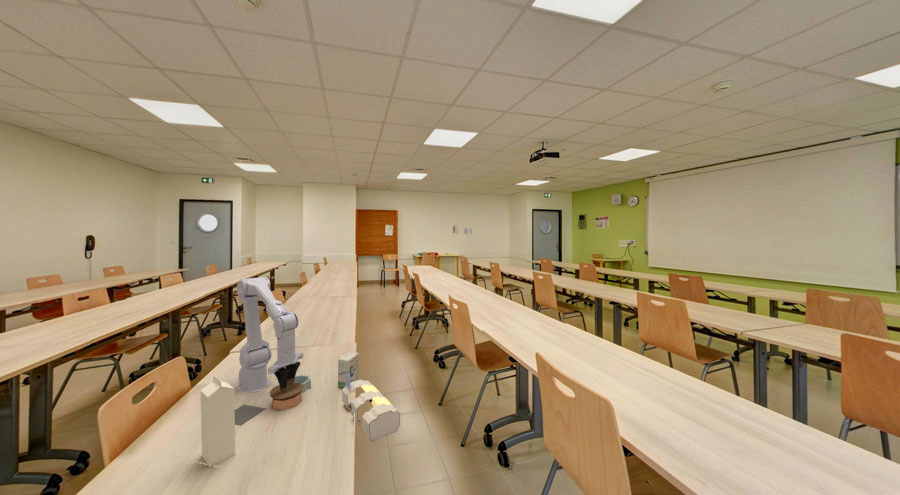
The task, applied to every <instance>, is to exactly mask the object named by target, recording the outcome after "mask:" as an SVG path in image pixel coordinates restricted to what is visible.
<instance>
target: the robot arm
mask: <svg viewBox="0 0 900 495" xmlns="http://www.w3.org/2000/svg"><path fill="white" fill-rule="evenodd" d="M236 289H237V291H236V292H237V297H238V300H239V301H241V302H242V306H243V314H244V323H245V324H244V325H245V331H246V332H245V333H246V334H245V335H246V340H247V341H246V343H245V344H244V345H243V346H242V347H241V348H240V349H239V360H238V361H239V364H240V366H241V367H240V369H239V372H238V387H236V390H237V391H243V392H250V393H258V392H259V391H261V390H264V389H265V388H266V387H269V386H270V385H272V384H273V382H272V381H268V377H267V375H269V374H270V375H274V376H275V377H276V380H277V381H278V385H280V388H286V386H287V378H293V383H294V379H295V376H297V372H298V369H299V368H300V366H301V361H298V360H301V359H303V358H304V352H296V329H297V328H298V326H299V317H298V316H297V313H295V312H292V311H289V310H288V308H287V307H286V306H285V305H284V303H283V302H282V301H281V300H277V299H276V297H275V296H274V293H273V292H272V290H271V281H270V279H269V278H268V276H262V277H252V278H251V277H250V278H240V279H239V280H238V281H237V285H236ZM259 300H260V301H262V302H263V303H264V305H265V306H266V307H265V311H266V313H267V315H269V317H270V319H271V320H272V321H273V323H272V326H273V329H274V332H275V333H274V334H275V337H276V343H277V344H276V351H277V354H276V355H277V358H276V361H275V362H274V363H273V364H272V365H271V366H269V367H267V365H268V364H269V361H271V358H272V356H273V355H272V354H273V353H272V349H271V346H270V342H268V341H267V340H264V339H263V336H262V328H261V327H262V326H261V320H260V310H259V302H258V301H259Z"/></svg>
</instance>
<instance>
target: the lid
mask: <svg viewBox="0 0 900 495" xmlns="http://www.w3.org/2000/svg"><path fill="white" fill-rule="evenodd" d="M301 391H302V384H300V383H296V382H294V383H293V378H287V386H286V388H280V385H279V384H278V385H276V386H274V387H273V388H272V389H271V390H270V391H269V396H270V398H272V399H273V398H274V399H285V398H290V397H293V396H295V395H297V394H299V393H300V392H301Z"/></svg>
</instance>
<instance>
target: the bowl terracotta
mask: <svg viewBox="0 0 900 495" xmlns="http://www.w3.org/2000/svg"><path fill="white" fill-rule="evenodd" d="M300 403H302V393H301V392H300V393H299V394H297V395H295V396H293V397H290V398H285V399H274V398H272V409H273V410H277V411H284V410H289V409H292V408H295V407H297V405H299V404H300Z"/></svg>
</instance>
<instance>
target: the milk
mask: <svg viewBox="0 0 900 495" xmlns="http://www.w3.org/2000/svg"><path fill="white" fill-rule="evenodd" d="M212 379H213V380H212V381H210V382H209V383H208V384H207V385H205V386H204V387H203V388H202V389H200V419H201V420H200V421H201V457H202V459H203V460H204V462H206V465H207V466H208V468H212V467H213V465H215V464H218V463H219V462H222V461H224V460H226V459H229V457H231V456H233V455H236V427H235V426H236V425H235V411H234V410H235V388H234V387H233V386H232V385H230V384H229V383H228V382H226V381H222V380H221V379H219V377H217V376H216V375H215V374H214V375H213V376H212Z"/></svg>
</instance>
